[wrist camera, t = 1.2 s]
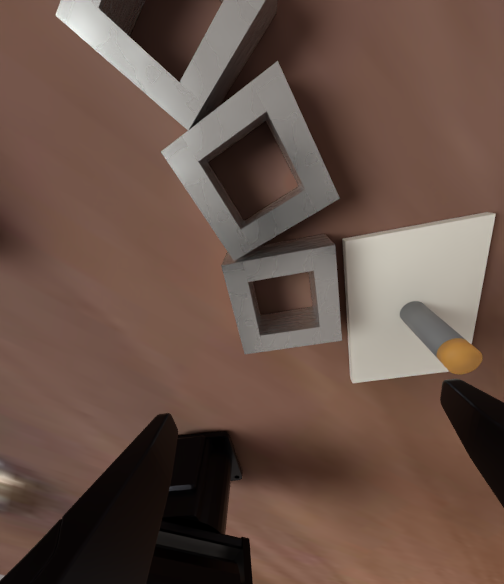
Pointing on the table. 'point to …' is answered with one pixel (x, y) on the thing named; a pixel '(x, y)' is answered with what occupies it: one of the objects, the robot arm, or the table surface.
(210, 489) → the robot arm
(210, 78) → the grey square frame
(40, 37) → the table surface
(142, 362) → the table surface
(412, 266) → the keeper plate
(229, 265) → the end link
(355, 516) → the table surface
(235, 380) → the table surface
